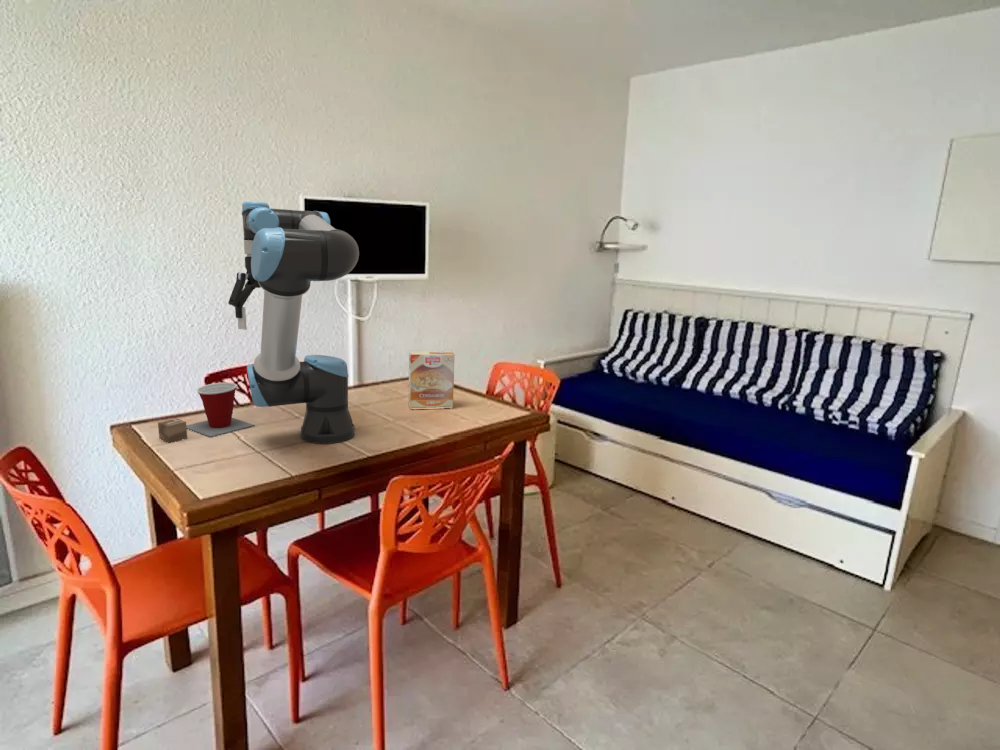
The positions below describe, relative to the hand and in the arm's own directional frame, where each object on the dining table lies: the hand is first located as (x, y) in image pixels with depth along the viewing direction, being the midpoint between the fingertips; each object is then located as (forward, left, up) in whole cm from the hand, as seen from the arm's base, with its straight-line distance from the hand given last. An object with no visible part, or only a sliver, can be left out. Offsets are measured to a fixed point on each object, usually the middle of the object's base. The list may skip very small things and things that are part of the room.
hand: (261, 327), depth 179 cm
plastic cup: (+2, +15, -28) cm, 32 cm away
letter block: (+1, +29, -29) cm, 41 cm away
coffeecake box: (-31, -43, -29) cm, 61 cm away
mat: (+2, +15, -29) cm, 32 cm away
